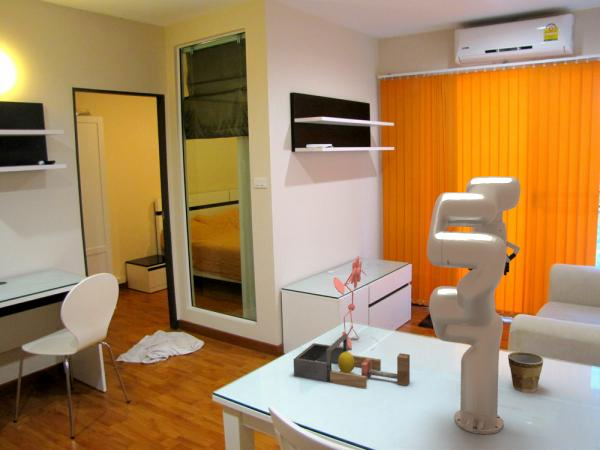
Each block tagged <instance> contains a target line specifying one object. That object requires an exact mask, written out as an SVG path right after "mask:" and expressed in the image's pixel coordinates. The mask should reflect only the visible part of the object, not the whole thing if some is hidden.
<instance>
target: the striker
mask: <svg viewBox="0 0 600 450" xmlns="http://www.w3.org/2000/svg"><path fill="white" fill-rule="evenodd" d="M410 356H411V355H410V354H408V353H401V352H399V354H397V356H396V357H397V358H396V365H397V366H396V367H397V368H396V369H397V370H396V373H393V372H388V371H381V370H380V371H379V370H372V369H371V359H369V358H370V357H368V358H366V360H365V361H364V362H363V363H362V364H361V368H360V370H361V372H360V373H361V374H360V375H362V376H367V380H368V379H369V377H371V376H374V377H375V376H376V377H383V378H388V379H395V380H396V381H397V382H396V383H397V384H399V385H404V386H408V385H409V383H410V380H411V378H410V377H411V376H410V375H411V371H410V368H411V366H410V358H411V357H410Z"/></svg>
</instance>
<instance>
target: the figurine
mask: <svg viewBox="0 0 600 450" xmlns="http://www.w3.org/2000/svg"><path fill="white" fill-rule="evenodd" d="M362 264H363V263H362V260H360V256H359V255H357V256H356V258H355V260H353V262H352V264H351V265H352V266H351V267H352V270H351V273H350V275H349V276H348V277H347V279H346V281H345V283H343V282H342V281H341V279H340V278H337V277H336V276H335V277H333V285H334V288H335V289H336V290H337V292H338V293H340V294H341V295H345V287H346V288H347V289H348V290H349V291H350V292H351V303H350V304H348V307H347V308H348V310H349V311H348V312H346V314H345V315H344V316H343V327H344V331H343V332H342V335H343V334H347V337H348V348H349V349H350V350H352V348H353V347H352V345H353V344H352V340H351V339H350V336H349V335H350V333H351V331H352V332H354V334H355V335H356V337H357V339H360V337H359V336H358V334H357V333H356V331H355V330H354V325H353V319H352V318H353V317H352V311H354V310H355V309H356V305H355V304H354V292H353V290H352V289H351V288H350V287H349V286H348V284H351V285H353V288H354V289H355V290H356V288H357V287H358V283H360V282H361V280H362V276H361V274H362V273H363V274H364V276H368V275H367V274H366V273H365V271H363V269H362ZM349 314H350V322H351V323H350V324H351V325H350V329H349V330H348V332H346V320H345V317H347V315H349ZM342 335H341V336H342ZM372 339H374V340H375V338H373V337H372ZM376 342H379V341H378V340H376ZM341 344H342V342H341V343H340V344H339V345H338V346H337V347H341V346H340V345H341ZM372 350H374V348H373V349H371V351H372Z"/></svg>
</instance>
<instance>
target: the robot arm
mask: <svg viewBox="0 0 600 450" xmlns="http://www.w3.org/2000/svg"><path fill="white" fill-rule="evenodd" d="M521 191H522V190H521V184H520V180H519V179H518V178H517V177H515V176H496V175H495V176H494V175H493V176H492V175H490V176H487V175H486V176H475V177H473V178H471V179H470V180H469V181H468V183H467V184H466V187H465V191H464V192H462V191H461V192H457V191H456V192H453V191H452V192H451V191H450V192H449V191H447V192H446V191H445V192H442V193H441V194H439V196H438V197H437V199H436V201H435V203H434V205H433V210H432V214H431V220H430V227H429V231H428V232H429V233H428V239H427V245H426V256H427V258H428V261H429V263H430V264H432V265H433V266H436V267H440V268H450V269H451V268H452V269H455V268H456V269H466V270H468V272H467V273H465V275H464V276H462V277H461V278H460V279H459V281H458V282H457V284H456V286H452V285H451V286H450V285H448V286H447V285H442V286H438V287H436V288H434V289H433V291H432V292H431V294H430V297H429V306H428V308H429V315H430V319H431V323H432V326H433V330H434V333H435V335H436V337H437V339H439V340H441V341H442V342H449V343H456V344H457V343H458V344H465V345H468V346H470V347H468V348H467V349H466V350H465V352H464V353H463V354H462V356H461V360H460V405H459V406H460V409H459V410H457V411H456V412H455V413H454V416H453V417H454V418H453V421H454V423H455V424H456V425H457V426H458V427H459V428H460V429H463V430H464V431H467V432H470V433H474V434H478V435H491V434H496V433H499V432H500V431H501V430H503V428H504V420H503V418H502V417H501V416H500V415H499V414H498V408H499V407H498V403H499V400H498V399H499V398H498V397H499V363H500V362H499V360H500V348H501V342H502V336H503V330H504V321H503V318H502V317H501V314H499V313H498V312H497V311H496V299H495V298H496V297H495V295H496V294H495V291H496V290H497V288H498V286H499V285H500V282H501V280H502V277H503V276H507V275H508V273H510V262H512V261H513V260H514V259H515V258H516V257H517V254H519V252H520V250H521V247H519V246H518V245H517V244H514V243H512V242H510V241H508V237H507V236H508V233H507V226H506V222H505V221H503V220H504V218H503V217H504V216H503V215H504V212H507V211H510V210H512V209H514V208H516V207H517V205H518V204H519V201H520V197H521ZM448 227H458V228H459V227H462V228H471V231H447V230H448ZM508 248H510V249H512V250H513V252H512V253H511V254H509V255H508V253H507V250H508Z"/></svg>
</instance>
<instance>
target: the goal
mask: <svg viewBox="0 0 600 450" xmlns="http://www.w3.org/2000/svg"><path fill="white" fill-rule="evenodd" d="M347 334H348V333H346V334H343V335H341V336H340V337H339V338H338V339H336V340H335V341H334V342H333V343H332V344H331V345H328V344H323V343H322V344H321V343H311V344H310V345H309V346H308V347H307V348H306V349H304V350H303V351H301V352H300V353H299V354H298V355H297V356H296V357H294V358H293V377H297V378H303V379H307V380H314V381H319V382H325V383H330V372H331V371H333V370H332V364H335V365H338V359H339V356H340V355H341V354H342V353H343V352H345V351H347V352H349V351H348V350H349V349H348V348H349V347H348V337H347ZM340 343H341V344H342V343H343V344H342V346H339V347H338V345H339V344H340ZM341 344H340V345H341Z"/></svg>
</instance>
